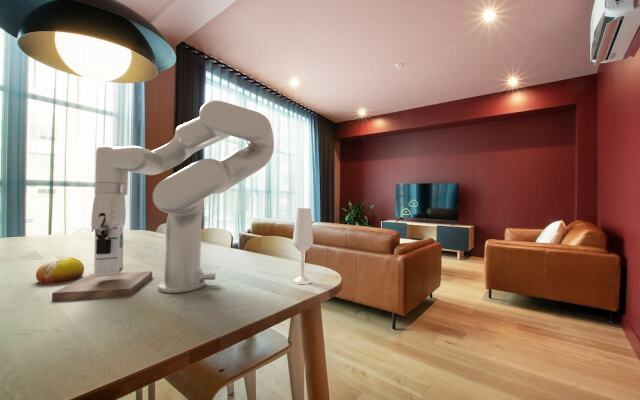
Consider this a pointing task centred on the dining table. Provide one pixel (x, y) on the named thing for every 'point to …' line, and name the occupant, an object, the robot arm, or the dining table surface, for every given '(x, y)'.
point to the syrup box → (110, 255)
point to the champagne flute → (303, 236)
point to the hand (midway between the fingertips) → (109, 250)
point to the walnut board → (103, 286)
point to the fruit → (60, 271)
